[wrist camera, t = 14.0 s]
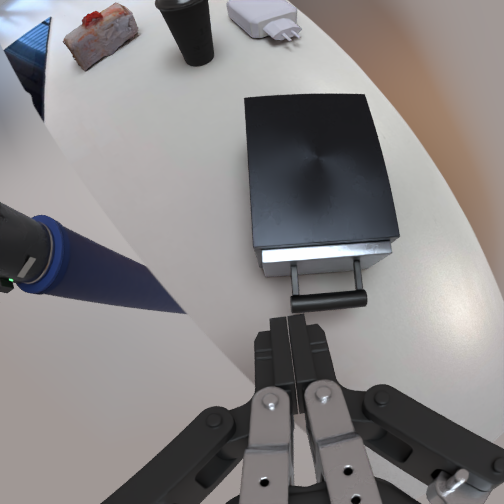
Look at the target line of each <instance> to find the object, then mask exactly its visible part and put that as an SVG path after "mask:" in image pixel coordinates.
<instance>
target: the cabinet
mask: <svg viewBox="0 0 504 504" xmlns="http://www.w3.org/2000/svg"><path fill="white" fill-rule="evenodd" d="M244 104H245V120H246V137H247V153H248V169H249V186H250V202H251V219H252V235H253V248H254V251H255V254H256V257H257V260H258V263H259V267H260V268H263V265H262V256H261V250H264V249H271V248H283V247H296V246H310V245H324V244H338V243H351V242H374V241H387V240H390V241H391V243H392V242H393V241H395V240H396V239H397V238H399V237H400V234H399V228H398V222H397V217H396V212H395V207H394V202H393V197H392V192H391V188H390V183H389V179H388V174H387V170H386V166H385V162H384V158H383V154H382V150H381V147H380V143H379V139H378V136H377V132H376V129H375V125H374V122H373V119H372V116H371V112H370V109H369V106H368V103H367V100H366V97H365V94H292V95H274V96H260V97H248V98H244Z"/></svg>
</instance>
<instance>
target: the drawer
mask: <svg viewBox="0 0 504 504" xmlns="http://www.w3.org/2000/svg"><path fill="white" fill-rule="evenodd" d="M391 253H392V248H391V241H390V240H387V241H374V242H351V243H338V244H324V245H310V246H296V247H283V248H271V249H264V250H261V256H262V265H263V269H264V273H265V276H266V277H274V276H288V275H291V283H292V295H293V296H291V297H290V302H291V312H292V313H304V312H315V311H326V310H337V309H346V308H356V307H365V306H366V305H367V293H366V291H365V290H364V289H363V284H362V275H361V269H368V268H369V267H371V266H372V265H374V264H376V263H377V262H379V261H380V260H382V259H384V258H385V257H387V256H388V255H390V254H391ZM350 270H354V279H355V289H356V290H353V291H343V292H332V293H321V294H309V295H299V284H298V275H301V274H314V273H326V272H338V271H350ZM362 289H363V290H362Z"/></svg>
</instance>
